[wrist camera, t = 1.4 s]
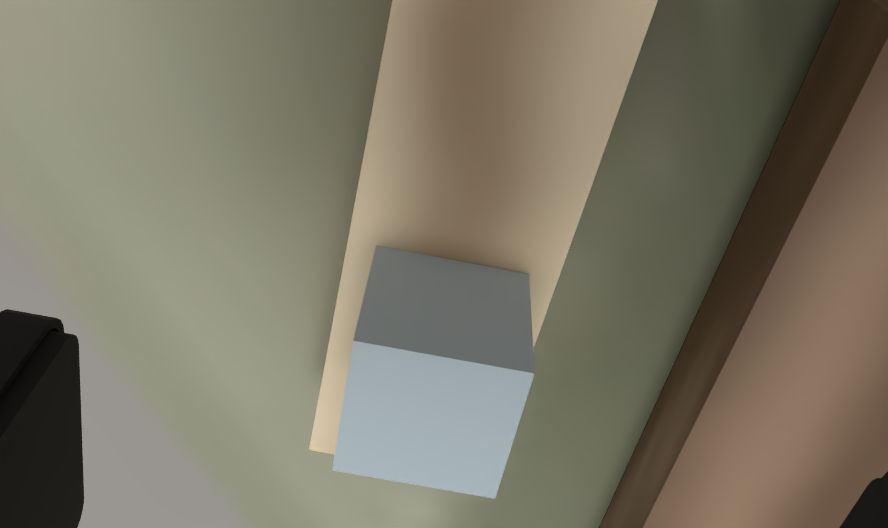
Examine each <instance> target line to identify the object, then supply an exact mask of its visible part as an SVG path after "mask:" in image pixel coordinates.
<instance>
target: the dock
mask: <svg viewBox="0 0 888 528" xmlns="http://www.w3.org/2000/svg"><path fill="white" fill-rule="evenodd" d="M886 472H888V0H841V1H840V3H839V6H838V8H837V10H836V12H835V14H834V16H833V19H832V21H831V23H830V25H829V27H828V30H827V32H826V34H825V36H824V38H823V40H822V43H821V45H820V47H819V49H818V51H817V54H816V56H815V58H814V60H813V62H812V64H811V67H810V69H809V71H808V73H807V75H806V78H805V80H804V82H803V84H802V86H801V89H800V91H799V93H798V95H797V97H796V99H795V102H794V104H793V106H792V108H791V110H790V113H789V115H788V117H787V119H786V121H785V123H784V126H783V128H782V130H781V132H780V134H779V137H778V139H777V141H776V143H775V145H774V148H773V150H772V152H771V154H770V156H769V158H768V161H767V163H766V165H765V167H764V169H763V172H762V174H761V176H760V178H759V180H758V182H757V185H756V187H755V189H754V191H753V193H752V196H751V198H750V200H749V202H748V204H747V206H746V209H745V211H744V213H743V215H742V217H741V220H740V222H739V224H738V226H737V228H736V231H735V233H734V235H733V237H732V239H731V241H730V244H729V246H728V248H727V250H726V252H725V255H724V257H723V259H722V261H721V263H720V265H719V268H718V270H717V272H716V274H715V276H714V279H713V281H712V283H711V285H710V287H709V290H708V292H707V294H706V296H705V298H704V300H703V303H702V305H701V307H700V309H699V311H698V314H697V316H696V318H695V320H694V322H693V324H692V327H691V329H690V331H689V333H688V335H687V338H686V340H685V342H684V344H683V346H682V348H681V351H680V353H679V355H678V357H677V359H676V362H675V364H674V366H673V368H672V370H671V373H670V375H669V377H668V379H667V381H666V383H665V386H664V388H663V390H662V392H661V394H660V397H659V399H658V401H657V403H656V405H655V407H654V410H653V412H652V414H651V416H650V418H649V421H648V423H647V425H646V427H645V429H644V431H643V434H642V436H641V438H640V440H639V442H638V445H637V447H636V449H635V451H634V453H633V456H632V458H631V460H630V462H629V464H628V466H627V469H626V471H625V473H624V475H623V477H622V480H621V482H620V484H619V486H618V488H617V490H616V493H615V495H614V497H613V499H612V501H611V504H610V506H609V508H608V510H607V512H606V515H605V517H604V519H603V521H602V523H601V525H600V528H839V527H840V526H841V524H842V523H843V521H844V520H845V518H846V517H847V516H848V514H849V513H850V511H851V510H852V508H853V507H854V505H855V504H856V502H857V501H858V499H859V498H860V496H861V495H862V493H863V492H864V490H865V489H866V487H867V486H868V484H869V483H870V482H871V481H872V480H874V479H876V478H882V477H883V476H884V474H885V473H886Z"/></svg>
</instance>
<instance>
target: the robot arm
mask: <svg viewBox="0 0 888 528" xmlns="http://www.w3.org/2000/svg"><path fill="white" fill-rule="evenodd" d="M82 458H83V457H82V427H81V400H80V368H79V344H78V339H77V337H76V336H75V335H73V334H67V333H64V327H63V324H62V322H61V320H59V319H57V318H53V317H47V316H42V315H36V314H30V313H25V312H19V311H13V310H8V309H7V310H4V311H1V312H0V528H77V527H78V524H79V521H80V518H81V514H82V510H83V504H84V486H83V459H82ZM839 528H888V472H886V473H885V474H884V476H883V477H882V478H876V479H874V480H872V481H871V482H870V483H869V484H868V486H867V487H866V489H865V490H864V492H863V493H862V495H861V496H860V498H859V499H858V501H857V502H856V504H855V505H854V507H853V508H852V510H851V511H850V513H849V514H848V516H847V517H846V518H845V520H844V521H843V523H842V524H841V526H840V527H839Z"/></svg>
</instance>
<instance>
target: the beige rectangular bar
mask: <svg viewBox="0 0 888 528" xmlns="http://www.w3.org/2000/svg"><path fill="white" fill-rule="evenodd" d="M657 2H658V0H392V5H391V11H390V16H389V21H388V27H387V32H386V38H385V43H384V48H383V54H382V59H381V65H380V70H379V75H378V81H377V86H376V91H375V97H374V102H373V108H372V113H371V118H370V124H369V129H368V135H367V140H366V145H365V151H364V156H363V162H362V167H361V172H360V178H359V183H358V188H357V194H356V199H355V205H354V210H353V215H352V221H351V226H350V232H349V237H348V242H347V248H346V253H345V259H344V264H343V269H342V275H341V280H340V286H339V291H338V296H337V302H336V307H335V312H334V318H333V323H332V329H331V334H330V339H329V345H328V350H327V356H326V361H325V366H324V372H323V377H322V383H321V388H320V393H319V399H318V404H317V409H316V415H315V420H314V426H313V431H312V436H311V442H310V447H309V450H314V451H319V452H324V453H329V454H335V450H336V444H337V438H338V431H339V425H340V419H341V413H342V407H343V400H344V394H345V388H346V382H347V376H348V370H349V363H350V357H351V351H352V345H353V339H354V335H355V331H356V327H357V323H358V319H359V314H360V310H361V306H362V302H363V298H364V294H365V289H366V285H367V281H368V277H369V273H370V268H371V264H372V260H373V256H374V252H375V248H376V246H382V247H387V248H392V249H398V250H403V251H408V252H414V253H419V254H424V255H430V256H435V257H440V258H445V259H451V260H456V261H461V262H467V263H472V264H477V265H483V266H488V267H493V268H499V269H504V270H509V271H515V272H520V273H525V274H529V281H530V299H531V318H532V336H533V349H534V346H535V343H536V340H537V337H538V335H539V332H540V329H541V326H542V323H543V321H544V318H545V315H546V312H547V309H548V307H549V304H550V301H551V298H552V295H553V293H554V290H555V287H556V284H557V281H558V279H559V276H560V273H561V270H562V267H563V265H564V262H565V259H566V256H567V253H568V251H569V248H570V245H571V242H572V239H573V237H574V234H575V231H576V228H577V225H578V223H579V220H580V217H581V214H582V211H583V209H584V206H585V203H586V200H587V197H588V195H589V192H590V189H591V186H592V184H593V181H594V178H595V175H596V172H597V170H598V167H599V164H600V161H601V158H602V156H603V153H604V150H605V147H606V144H607V142H608V139H609V136H610V133H611V130H612V128H613V125H614V122H615V119H616V116H617V114H618V111H619V108H620V105H621V102H622V100H623V97H624V94H625V91H626V88H627V86H628V83H629V80H630V77H631V74H632V72H633V69H634V66H635V63H636V60H637V58H638V55H639V52H640V49H641V46H642V44H643V41H644V38H645V35H646V32H647V30H648V27H649V24H650V21H651V18H652V16H653V13H654V10H655V7H656V4H657Z"/></svg>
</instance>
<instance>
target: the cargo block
mask: <svg viewBox="0 0 888 528" xmlns="http://www.w3.org/2000/svg"><path fill="white" fill-rule="evenodd" d="M534 374H535V373H534V354H533V336H532V318H531V299H530V281H529V274H525V273H520V272H515V271H509V270H504V269H499V268H493V267H488V266H483V265H477V264H472V263H467V262H461V261H456V260H451V259H445V258H440V257H435V256H430V255H424V254H419V253H414V252H408V251H403V250H398V249H392V248H387V247H382V246H376V248H375V252H374V256H373V260H372V264H371V268H370V273H369V277H368V281H367V285H366V289H365V294H364V298H363V302H362V306H361V310H360V314H359V319H358V323H357V327H356V331H355V335H354V339H353V345H352V351H351V357H350V363H349V370H348V376H347V382H346V388H345V394H344V400H343V407H342V413H341V419H340V425H339V431H338V438H337V444H336V450H335V456H334V462H333V468H332V470H333V471H339V472H344V473H350V474H356V475H362V476H367V477H373V478H379V479H385V480H391V481H396V482H402V483H408V484H414V485H419V486H425V487H431V488H437V489H442V490H448V491H454V492H460V493H465V494H471V495H477V496H483V497H488V498H494V499H495V497H496V494H497V491H498V488H499V485H500V481H501V478H502V475H503V472H504V469H505V466H506V462H507V459H508V456H509V453H510V450H511V447H512V443H513V440H514V437H515V434H516V431H517V428H518V424H519V421H520V418H521V415H522V412H523V409H524V405H525V402H526V399H527V396H528V393H529V390H530V386H531V383H532V380H533V377H534Z"/></svg>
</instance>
